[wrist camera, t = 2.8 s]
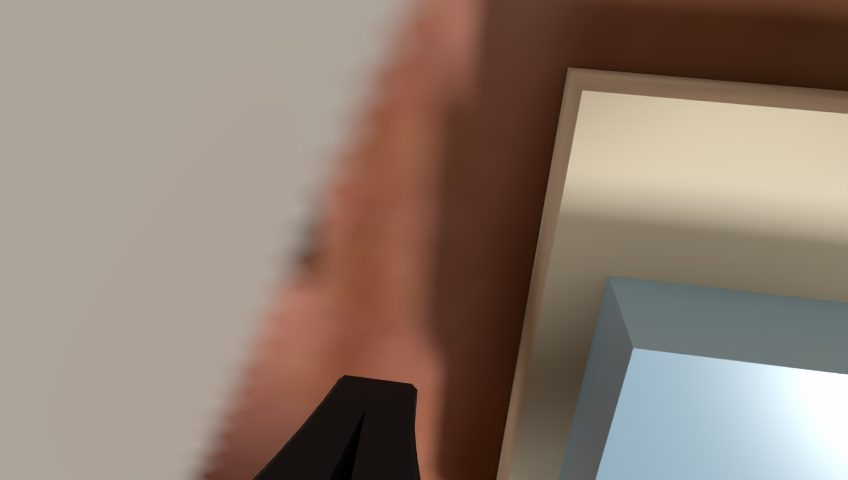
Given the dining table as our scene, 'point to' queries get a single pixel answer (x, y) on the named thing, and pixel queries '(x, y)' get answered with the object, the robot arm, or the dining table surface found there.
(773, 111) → the beige flat square slab
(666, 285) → the light blue block
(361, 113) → the dining table surface
